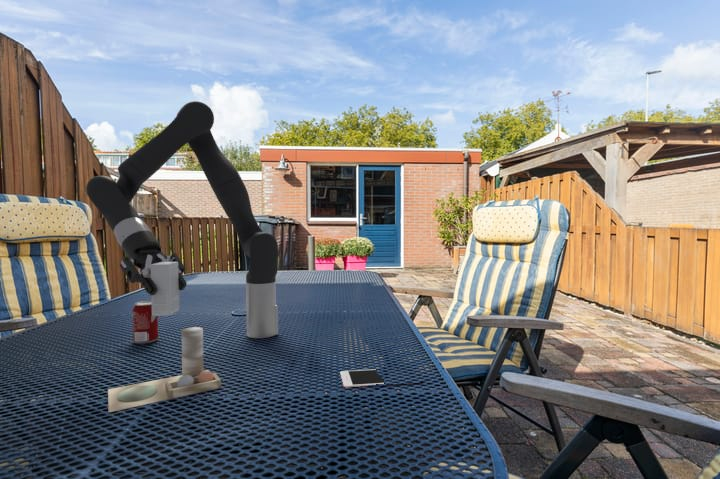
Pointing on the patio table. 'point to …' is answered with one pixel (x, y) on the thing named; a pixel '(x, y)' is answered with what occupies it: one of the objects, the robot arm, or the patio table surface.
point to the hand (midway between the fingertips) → (169, 290)
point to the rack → (168, 386)
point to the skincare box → (165, 288)
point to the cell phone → (360, 378)
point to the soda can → (144, 323)
